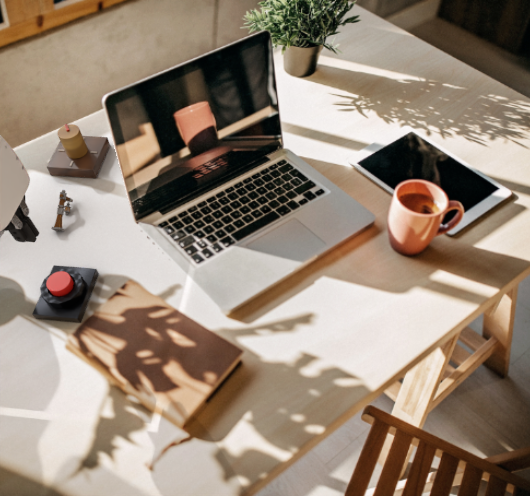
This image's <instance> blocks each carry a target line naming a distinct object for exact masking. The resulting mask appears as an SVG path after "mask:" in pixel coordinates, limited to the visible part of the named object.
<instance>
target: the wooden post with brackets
mask: <svg viewBox="0 0 530 496" xmlns="http://www.w3.org/2000/svg"><path fill="white" fill-rule="evenodd" d="M67 194H68V193H67V192H66V190H65V189H62V190H61V191H59V196H58V199H59V203H58V204H57V209H56V219H55V223H54V225H53V226H51V227H50V229H51V230H53V231H56V232H65V228H63V216H64V214H65V215H66V216H68V215H69V214H71V209H72V207H71V206H70V205H71V204H70V203H73V202H74V199H72V197H69V196H67ZM65 203H66V205H65Z"/></svg>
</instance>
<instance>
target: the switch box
mask: <svg viewBox="0 0 530 496" xmlns="http://www.w3.org/2000/svg"><path fill="white" fill-rule="evenodd" d="M59 271H64V272H67V273H68V274H69V275H70V276H71V278H72V280H73V281H74V287H73V289H72V290H71V292H70V293H68V294H67V295H64V296H60V297H58V296H54V295H53V294H52V293H51V292H50V291H49V289H48V288H47V285H46V283H47V280H48V278H49V277H50V276H51V275H52V274H54V273H56V272H59ZM99 275H100V273H99V271H98V269H97V268H92V267H91V268H90V267H79V266H67V265H56V264H54V265H53V266H52V268H51V270H50V272H49V274H48V275H47V276H46V277H45V278H44V279H43V281H42V283H41V286H40V287H39V290H40V295H39V297H38V300H37V301H36V304H35V306H34V309H33V311H32V316H33V318H35V319H36V320H44V321H53V322H54V321H55V322H67V323H76V324H82V322H83V319H84V315H85V313H86V311H87V307H88V304H89V302H90V299H91V297H92V294H93V291H94V288H95V286H96V284H97V281H98V278H99Z"/></svg>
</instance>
